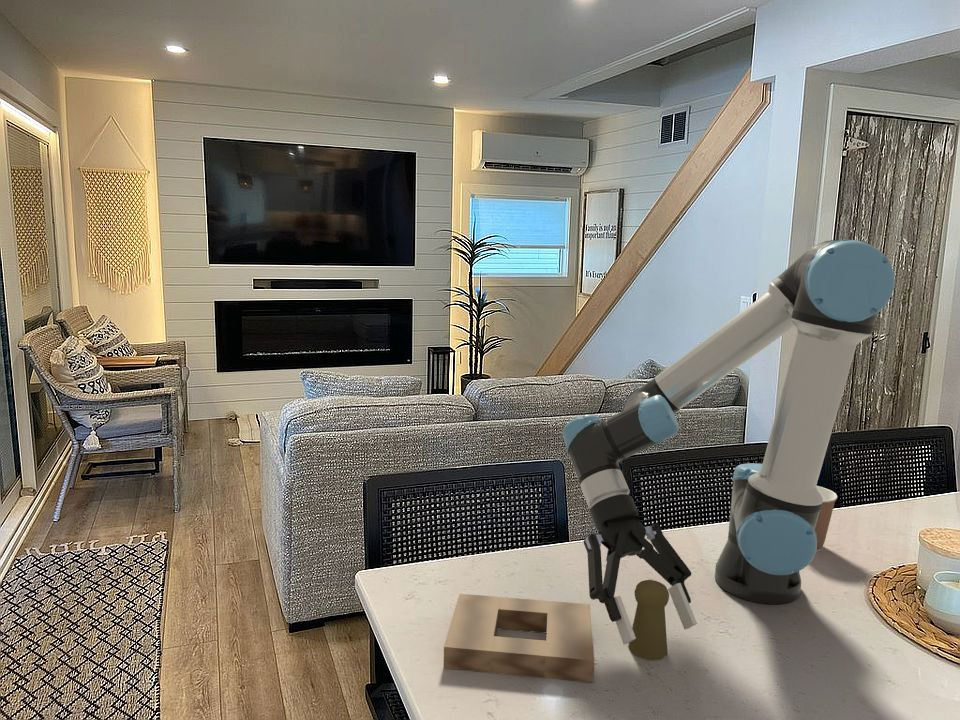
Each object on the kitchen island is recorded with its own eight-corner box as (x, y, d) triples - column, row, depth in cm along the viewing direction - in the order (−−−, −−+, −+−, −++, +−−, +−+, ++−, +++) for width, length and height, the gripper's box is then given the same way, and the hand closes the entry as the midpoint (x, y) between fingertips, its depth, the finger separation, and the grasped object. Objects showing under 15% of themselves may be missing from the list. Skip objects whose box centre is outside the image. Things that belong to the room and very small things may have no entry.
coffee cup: (827, 539, 155) (833, 487, 153) (834, 559, 145) (840, 503, 143) (776, 532, 158) (782, 480, 156) (780, 550, 149) (785, 496, 147)
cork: (668, 662, 109) (673, 596, 107) (628, 657, 110) (632, 591, 108) (666, 640, 114) (671, 577, 112) (628, 635, 116) (632, 572, 114)
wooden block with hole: (588, 623, 119) (590, 604, 118) (592, 682, 103) (594, 660, 103) (459, 612, 121) (459, 593, 121) (443, 668, 106) (443, 646, 105)
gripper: (655, 502, 128) (707, 626, 116) (541, 520, 118) (585, 656, 107) (676, 484, 122) (733, 612, 110) (558, 501, 113) (607, 642, 101)
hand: (661, 634), depth 109 cm, fingers open, 11 cm apart
